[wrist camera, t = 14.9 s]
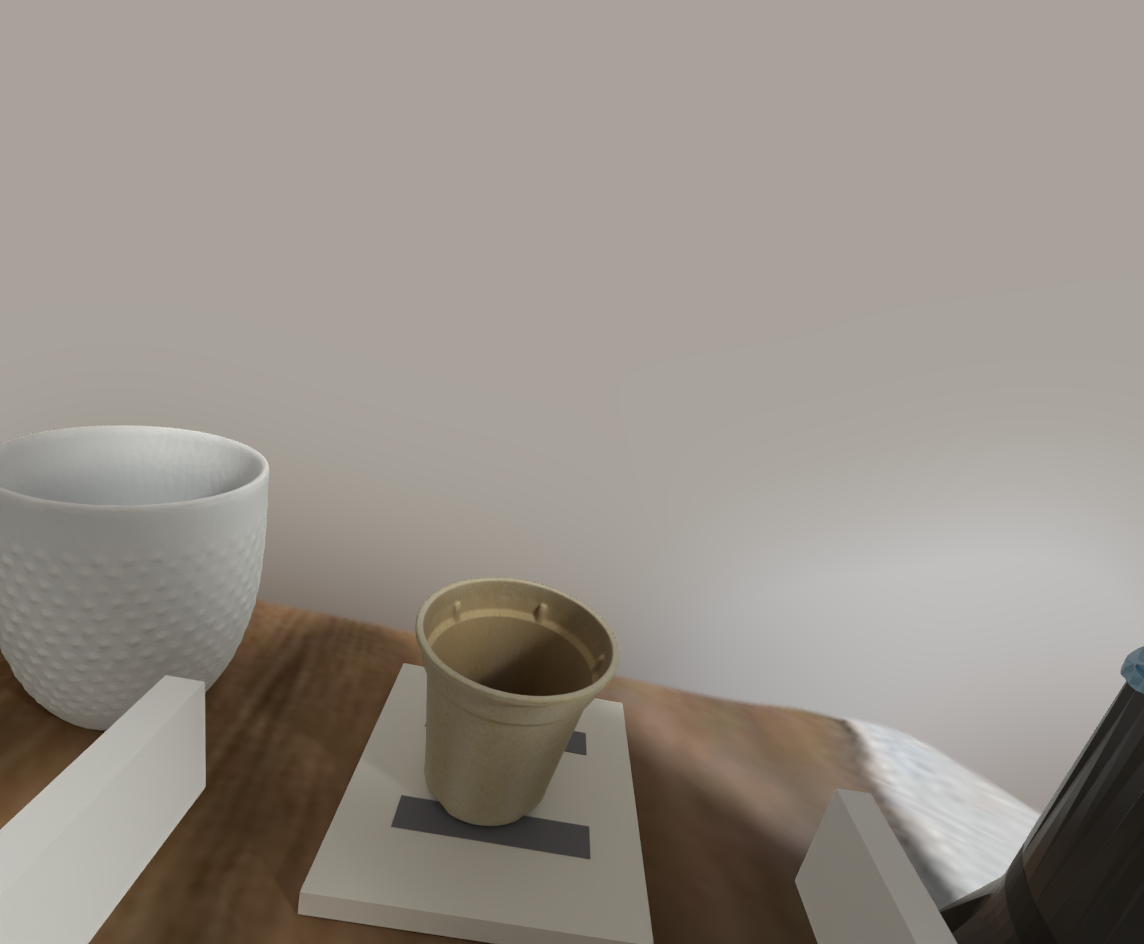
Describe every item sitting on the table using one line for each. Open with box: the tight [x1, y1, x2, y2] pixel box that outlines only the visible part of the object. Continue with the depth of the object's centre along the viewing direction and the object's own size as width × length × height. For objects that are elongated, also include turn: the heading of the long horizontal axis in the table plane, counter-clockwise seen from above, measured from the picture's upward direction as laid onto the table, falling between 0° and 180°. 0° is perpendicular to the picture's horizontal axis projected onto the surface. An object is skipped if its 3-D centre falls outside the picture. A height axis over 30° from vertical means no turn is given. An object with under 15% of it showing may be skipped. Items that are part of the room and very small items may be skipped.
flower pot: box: [416, 577, 620, 826], centre depth 27 cm, size 9×9×9 cm
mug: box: [0, 425, 269, 731], centre depth 28 cm, size 15×11×13 cm
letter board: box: [298, 663, 654, 944], centre depth 29 cm, size 14×14×1 cm
